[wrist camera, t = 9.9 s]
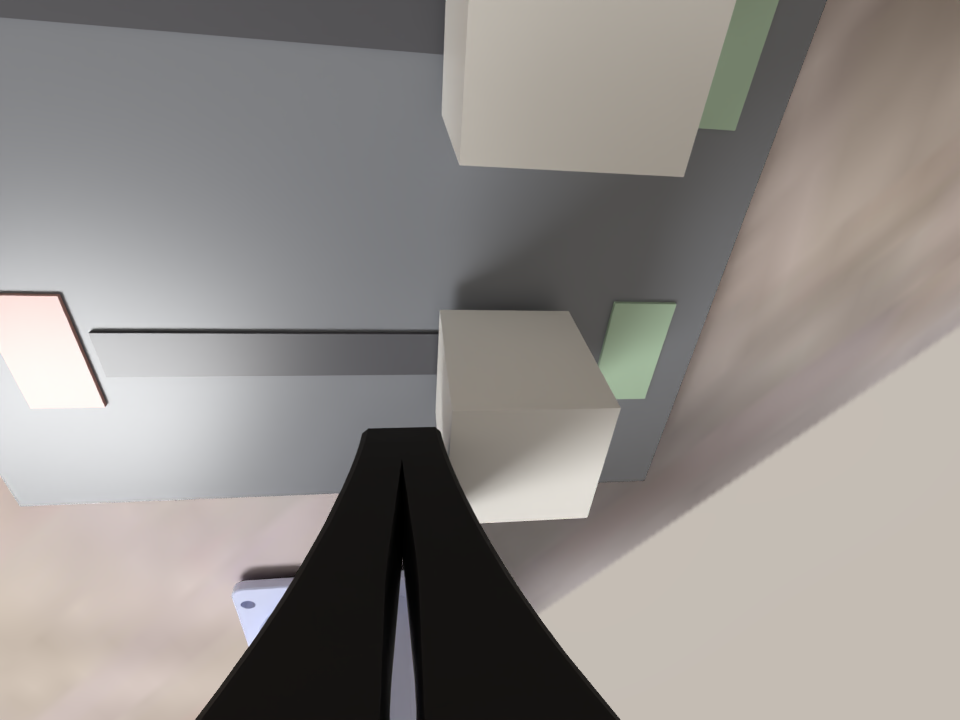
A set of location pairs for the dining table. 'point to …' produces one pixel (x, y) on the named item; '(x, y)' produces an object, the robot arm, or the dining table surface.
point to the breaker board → (316, 239)
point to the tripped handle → (522, 413)
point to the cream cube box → (580, 82)
